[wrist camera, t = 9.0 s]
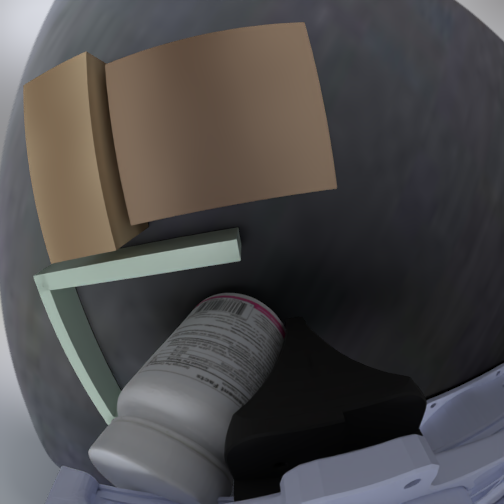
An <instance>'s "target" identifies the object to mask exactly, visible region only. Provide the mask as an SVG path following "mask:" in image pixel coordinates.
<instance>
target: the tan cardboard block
mask: <svg viewBox="0 0 504 504" xmlns="http://www.w3.org/2000/svg"><path fill="white" fill-rule="evenodd" d="M105 72H106V83H107V93H108V102H109V111H110V118H111V126H112V132H113V139H114V145H115V151H116V157H117V162H118V168H119V173H120V178H121V183H122V188H123V193H124V197H125V202H126V206H127V211H128V215H129V219H130V223H131V225H136V224H140V223H145V222H149V221H154V220H158V219H163V218H168V217H173V216H177V215H182V214H187V213H192V212H197V211H202V210H208V209H213V208H218V207H224V206H229V205H235V204H240V203H246V202H252V201H257V200H263V199H269V198H276V197H282V196H288V195H295V194H301V193H308V192H315V191H322V190H329V189H337V183H336V176H335V168H334V162H333V155H332V148H331V142H330V136H329V130H328V124H327V119H326V114H325V108H324V103H323V98H322V93H321V88H320V84H319V79H318V75H317V70H316V66H315V62H314V58H313V53H312V49H311V45H310V42H309V38H308V34H307V30H306V27H305V23H304V22H299V23H281V24H269V25H260V26H251V27H244V28H237V29H230V30H224V31H219V32H213V33H208V34H204V35H199V36H194V37H190V38H186V39H182V40H178V41H174V42H171V43H167V44H163V45H160V46H157V47H153V48H150V49H147V50H144V51H141V52H138V53H135V54H132V55H129V56H126V57H124V58H121V59H118V60H116V61H113V62H111V63H108V64H106V65H105Z"/></svg>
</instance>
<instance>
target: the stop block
mask: <svg viewBox="0 0 504 504" xmlns="http://www.w3.org/2000/svg"><path fill="white" fill-rule="evenodd" d="M105 65H106V63H104V62H102V61H101V60H99V59H98V58H96V57H94V56H93V55H91V54H89V53H88V52H84V53H82V54H80V55H78V56H75V57H73V58H71V59H69V60H67V61H65V62H63V63H62V64H60V65H58V66H56V67H54V68H52V69H50V70H49V71H47V72H45V73H43V74H42V75H40V76H38V77H36V78H35V79H33V80H32V81H30V82H28V83H27V84H25V85H24V121H25V134H26V145H27V154H28V162H29V169H30V175H31V182H32V187H33V193H34V198H35V203H36V208H37V212H38V217H39V221H40V225H41V229H42V233H43V237H44V240H45V244H46V248H47V251H48V255H49V258H50V261H51V264H53V263H57V262H62V261H67V260H72V259H76V258H81V257H86V256H91V255H96V254H101V253H106V252H111V251H116V250H118V249H119V248H120V247H122V246H123V245H124V244H126V243H127V242H128V241H130V240H131V239H133V238H134V237H135V236H137V235H138V234H140V233H141V232H142V231H144V230H145V229H147V228H148V227H149V226H148V222H145V223H140V224H136V225H131V223H130V219H129V215H128V211H127V206H126V202H125V197H124V193H123V188H122V183H121V178H120V173H119V168H118V162H117V157H116V151H115V145H114V139H113V132H112V126H111V118H110V111H109V102H108V93H107V83H106V72H105Z"/></svg>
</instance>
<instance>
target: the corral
mask: <svg viewBox="0 0 504 504" xmlns="http://www.w3.org/2000/svg"><path fill="white" fill-rule="evenodd" d="M237 261H241V240H240V235H239V229H238V227H236V228H230V229H224V230H218V231H213V232H207V233H201V234H196V235H190V236H184V237H179V238H173V239H168V240H163V241H157V242H152V243H147V244H141V245H136V246H131V247H126V248H121V249H118V250H116V251H111V252H106V253H101V254H96V255H91V256H86V257H81V258H76V259H72V260H67V261H62V262H57V263H53V264H51V265H50V266H48V267H46V268H45V269H43V270H42V271H40V272H39V273H37V274H36V275H34V276H33V277H34V280H35V282H36V285H37V288H38V291H39V293H40V296H41V299H42V301H43V304H44V306H45V309H46V311H47V314H48V316H49V318H50V321H51V323H52V325H53V328H54V330H55V332H56V334H57V336H58V339H59V341H60V343H61V345H62V347H63V349H64V351H65V353H66V355H67V357H68V359H69V361H70V363H71V365H72V367H73V368H74V370H75V372H76V374H77V376H78V378H79V379H80V381H81V383H82V385H83V386H84V388H85V390H86V391H87V393H88V395H89V396H90V398H91V400H92V401H93V403H94V404H95V406H96V407H97V409H98V411H99V412H100V414H101V415H102V417H103V418H104V420H105V421H106V423H107V424H108V425H110V423H111V421H112V420H113V419H114V418H116V417H118V412H117V401H118V397H119V395H120V393H121V390H120V388H119V386H118V384H117V382H116V380H115V378H114V377H113V375H112V373H111V371H110V369H109V367H108V365H107V363H106V361H105V359H104V356H103V354H102V352H101V350H100V348H99V346H98V343H97V341H96V339H95V337H94V334H93V332H92V330H91V327H90V325H89V323H88V320H87V318H86V315H85V313H84V310H83V308H82V305H81V302H80V300H79V297H78V294H77V291H76V289H75V287H76V286H82V285H89V284H96V283H102V282H109V281H115V280H122V279H128V278H135V277H141V276H148V275H154V274H161V273H167V272H174V271H180V270H186V269H193V268H199V267H205V266H212V265H218V264H224V263H230V262H237Z"/></svg>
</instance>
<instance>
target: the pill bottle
mask: <svg viewBox="0 0 504 504" xmlns="http://www.w3.org/2000/svg"><path fill="white" fill-rule="evenodd" d="M285 333H286V329H285V327H284V325H283V323H282V322H281V320H280V319H279V318H278V316H277V315H276V314H275V313H274V312H273V311H272V310H271V309H270V308H269V307H267V306H266V305H265V304H263V303H262V302H260V301H258V300H257V299H254V298H252V297H250V296H247V295H243V294H238V293H220V294H216V295H213V296H210V297H208V298H206V299H205V300H203V301H202V302H200V303H199V304H198V305H197V306H196V307H195V308H194V309H193V310H192V312H191V313H190V314H189V315H188V316H187V318H186V319H185V320H184V321H183V322H182V323H181V324H180V326H179V327H178V328H177V329H176V330H175V331H174V332H173V333H172V334H171V336H170V337H169V338H168V339H167V340H166V341H165V342H164V343H163V344H162V345H161V347H160V348H159V349H158V350H157V351H156V352H155V353H154V354H153V355H152V357H151V358H150V359H149V360H148V361H147V362H146V363H145V364H144V365H143V367H142V368H141V369H140V370H139V371H138V372H137V373H136V374H135V376H134V377H133V378H132V379H131V380H130V381H129V382H128V383H127V385H126V386H125V387H124V388H123V390H122V391H121V393H120V395H119V397H118V401H117V412H118V417H116V418H114V419H113V420H112V421H111V423H110V425H109V426H107V428H106V429H105V430H104V431H103V432H102V433H101V435H100V436H99V437H98V439H97V440H96V441H95V442H94V444H93V445H92V446H91V448H90V449H89V458H90V460H91V461H92V463H93V464H94V466H95V467H96V468H97V470H98V471H99V472H100V473H101V474H102V475H103V476H104V477H105V478H106V479H107V480H109V481H110V482H111V483H112V484H113V485H115V486H116V487H117V488H122V489H128V490H134V491H141V492H148V493H153V494H156V495H159V496H161V497H164V498H167V499H169V500H171V501H173V502H176V503H180V504H218V501H217V500H218V498H219V497H230V495H231V493H232V486H233V477H232V475H231V473H230V471H229V469H228V467H227V465H226V463H225V459H224V447H225V439H226V434H227V430H228V427H229V424H230V421H231V419H232V416H233V414H234V413H235V412H237V411H238V410H239V409H240V408H241V407H242V406H243V405H245V404H246V403H247V402H248V401H249V400H250V399H251V398H252V396H253V395H254V394H255V393H256V392H257V391H258V389H259V388H260V387H261V386H262V384H263V383H264V382H265V380H266V379H267V377H268V375H269V374H270V372H271V370H272V369H273V367H274V365H275V363H276V361H277V358H278V356H279V353H280V351H281V348H282V345H283V341H284V338H285Z"/></svg>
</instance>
